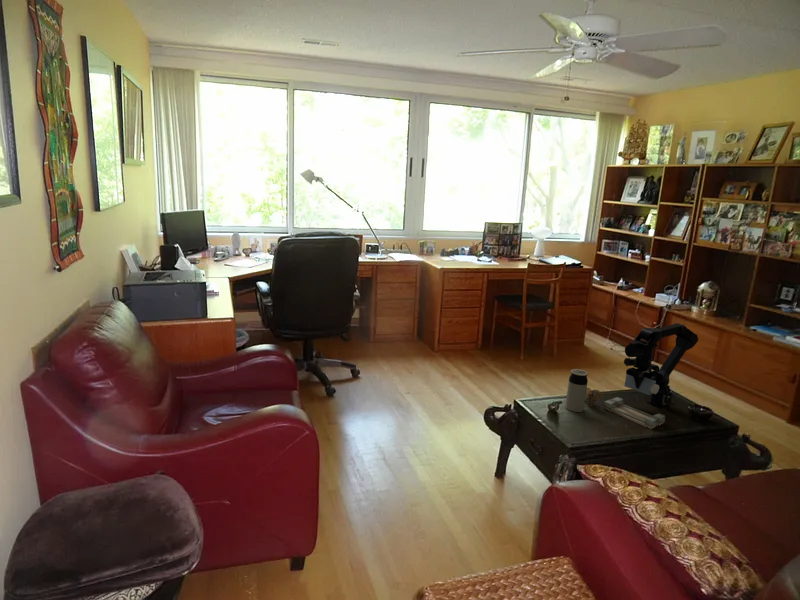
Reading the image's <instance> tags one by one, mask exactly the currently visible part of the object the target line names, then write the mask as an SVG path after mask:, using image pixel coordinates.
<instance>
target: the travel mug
mask: <svg viewBox="0 0 800 600" xmlns="http://www.w3.org/2000/svg"><path fill="white" fill-rule="evenodd" d="M588 375H589V373H588V371H586V370H584V369H580V368H573V369H571V370H570V375H569V377H568V385H567V392H566V398H565V399H566V400H565V408H566V409H567V410H568V411H570V412H574V413H580V412H581V413H582V412H583V411H584V410H585V403H586V389H587V387H588V382H589V380H588Z"/></svg>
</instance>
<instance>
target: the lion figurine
mask: <svg viewBox="0 0 800 600" xmlns="http://www.w3.org/2000/svg"><path fill="white" fill-rule="evenodd" d="M603 397H604V394H602V393H601V392H600V390H599V389H591V387H588V386H587V389H586V396H585V400H587V407H588V408H591V406H592V407H596V404H595V403H596V402H597V401H599V399H600V400H601V399H602V398H603Z"/></svg>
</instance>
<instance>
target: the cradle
mask: <svg viewBox="0 0 800 600" xmlns="http://www.w3.org/2000/svg"><path fill="white" fill-rule="evenodd" d="M602 409H603V410H605V409H606V411H607V410H608V412H610V413H612V412H613V414H614V413H615V415H617V416H619V417H621V416H622V418H624V419H626V420H629V421H631V422H634V423H636V424H638V425H640V426H643V427H645V428H647V427H648V429H649V430H652V429H655V428H656V426H657V427H659V426H661V424H662V425H664V424H665V420H666V415H664V414H661V413H657V414H654V415H651V414H649V413H646V412H644V411H641V410H639V409H637V408H634V407H631V406H629V405H627V404H624V398H622V397H618V396H616V397H613V398H611V399H608V400H604V401H603V406H602ZM663 423H664V424H663ZM658 425H659V426H658Z"/></svg>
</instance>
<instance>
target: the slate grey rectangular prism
mask: <svg viewBox="0 0 800 600" xmlns="http://www.w3.org/2000/svg"><path fill="white" fill-rule="evenodd" d="M624 387H626V388H629V389H632V390H634V391H636V392H639V393H643V394H645V395H648V396H651V394H657V393H658V391H659V385H656V381H654V380H651V379H648V378H644V380H643V382H642V383H641V385H640V387H639V388H636V385H635V380H634V377H633V376H630V375H628V374H626V373H625V380H624Z"/></svg>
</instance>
